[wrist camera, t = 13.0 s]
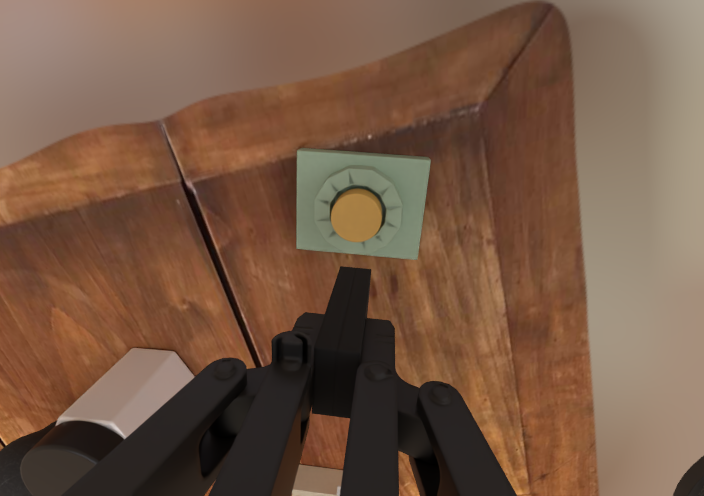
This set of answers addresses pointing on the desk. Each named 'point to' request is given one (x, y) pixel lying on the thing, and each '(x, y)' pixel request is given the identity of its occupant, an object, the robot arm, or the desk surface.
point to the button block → (372, 175)
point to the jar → (103, 419)
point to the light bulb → (17, 463)
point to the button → (356, 215)
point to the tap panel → (317, 481)
